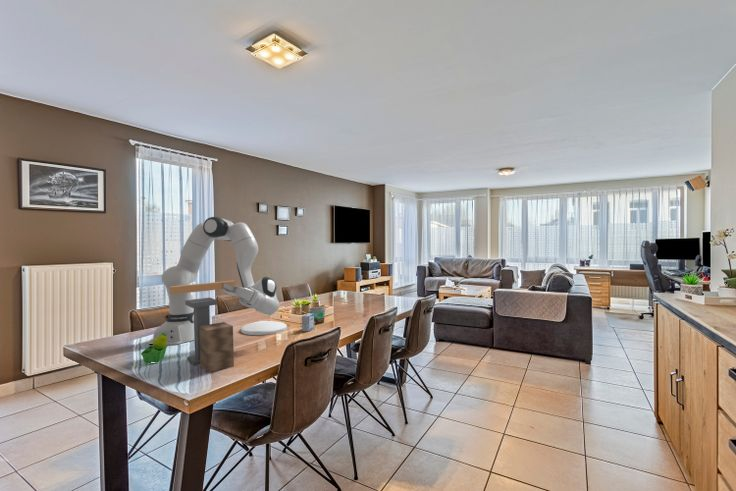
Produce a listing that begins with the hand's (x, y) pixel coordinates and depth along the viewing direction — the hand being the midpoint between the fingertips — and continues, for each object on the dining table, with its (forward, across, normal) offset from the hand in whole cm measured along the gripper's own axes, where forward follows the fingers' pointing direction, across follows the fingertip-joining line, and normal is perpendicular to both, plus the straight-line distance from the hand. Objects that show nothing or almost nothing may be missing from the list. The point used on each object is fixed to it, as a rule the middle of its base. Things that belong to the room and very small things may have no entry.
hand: (221, 284), depth 159 cm
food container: (-73, -21, -5) cm, 76 cm away
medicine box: (-61, -12, +2) cm, 62 cm away
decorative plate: (-46, -31, +11) cm, 56 cm away
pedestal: (-10, +12, +31) cm, 35 cm away
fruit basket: (+4, -15, +40) cm, 43 cm away
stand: (-8, 0, +32) cm, 33 cm away
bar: (+5, 0, +5) cm, 7 cm away
